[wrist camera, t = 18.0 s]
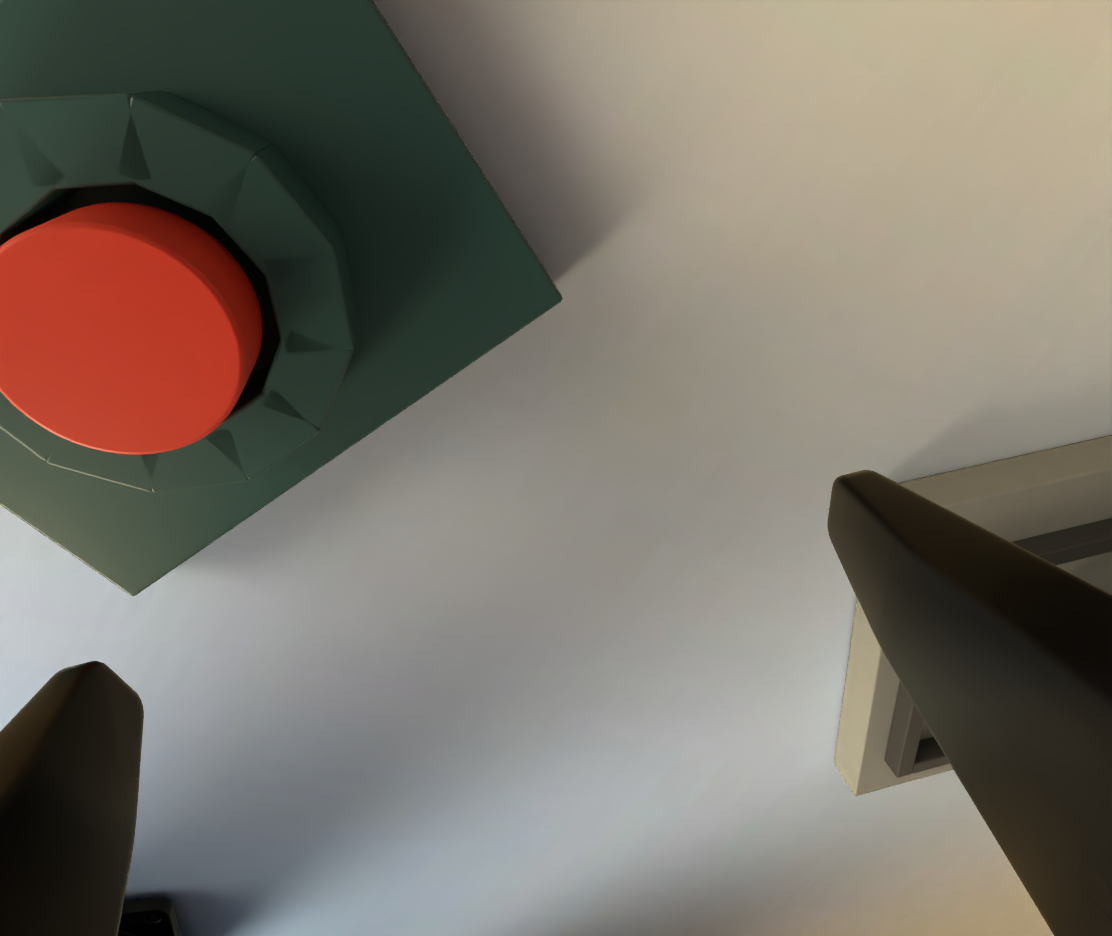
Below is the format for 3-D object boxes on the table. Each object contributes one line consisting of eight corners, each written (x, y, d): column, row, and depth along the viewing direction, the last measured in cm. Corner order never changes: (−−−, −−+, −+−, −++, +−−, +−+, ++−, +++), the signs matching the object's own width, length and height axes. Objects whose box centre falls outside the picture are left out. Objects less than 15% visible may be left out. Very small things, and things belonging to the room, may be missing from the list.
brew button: (155, 446, 13) (124, 496, 11) (-32, 288, 11) (-98, 322, 9) (308, 336, 12) (296, 372, 11) (140, 152, 10) (98, 166, 9)
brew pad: (148, 566, 17) (104, 655, 14) (-269, 261, 12) (-442, 311, 10) (553, 285, 15) (584, 327, 13) (253, -184, 11) (208, -262, 8)
